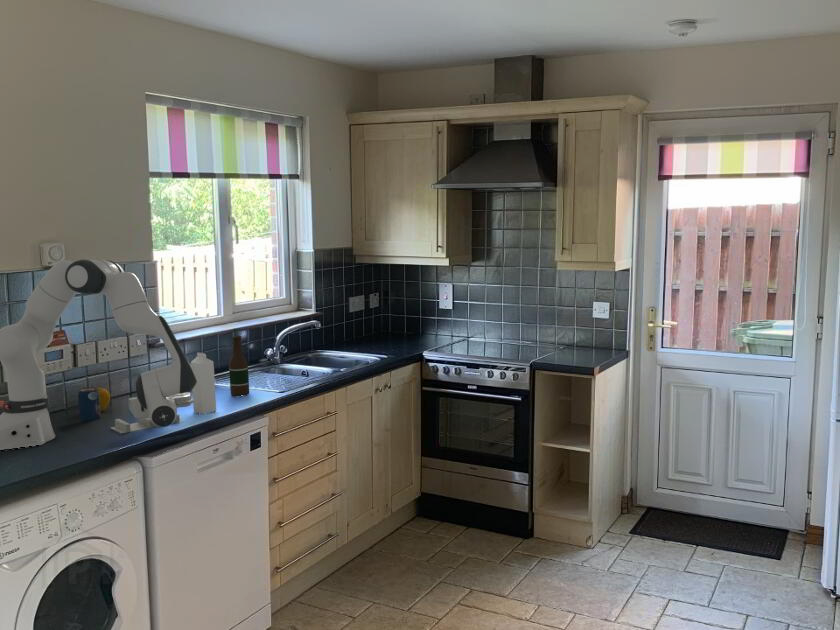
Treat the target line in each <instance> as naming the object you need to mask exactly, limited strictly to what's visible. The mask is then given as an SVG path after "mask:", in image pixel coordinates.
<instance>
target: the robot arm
mask: <svg viewBox="0 0 840 630" xmlns="http://www.w3.org/2000/svg"><path fill="white" fill-rule="evenodd" d="M77 294H82V295H99V294H102V295H104V296H106V298H107V300H108V301H109V305H110V309H111V311H112V315H113V317H114V320H115V322H116V324H117V326H118V327H119V328H120V329H121V330H122V331H123V332H126V333H130V334H133V335H142V336H143V335H144V336H154V337H157V338H159V339H160V340H161V341H162V343H163V344H164V346H165V348H166V349H167V351H168V353H169V355H170V358H171V359H172V363H171V364H169V365H166V366H162V367H158V368H155V369H154V368H153V369H151V370H148V371H145V372H144V371H143V372H141V373H139V375H138V376H137V377H136V380H135V392H136V397H129V398H128V408H129V411H130V414H133V416H134V418H135V419H139V418H150V420H151V422H152V423H153V424H154V425H156V426H158V428H166V427H167V428H168V427H169V426H171V425H173V424H172V423H173V422H174V421H175V419H176V417H177V414H178V408H187V407H189V406H191V405H192V404H193V402H194V400H193V397H192V392H191V391H192V389H193V388H194V386H195V385H196V383H197V377H196V373H195V371H194V369H193V367H192V366H191V362H189V361H188V359H187V357H186V356H185V353H184V352H183V349H182V348H181V345H180V343H179V342H178V339H177V337H176V336H175V334H174V332H173V330H172V328H171V327H170V325H169V323H168V321H167V320H166V319H165V317H164V316H162V315H161V314H157V313H156V312H154V310H153V309H152V308H151V306H150V304H149V301H148V298H147V296H146V295H147V294H146V292H145V290H144V288H143V285H142V284H141V282H140V279H139V278H138V277H137V275H136V274H134V273H132V272H131V271H130V272H128V271H124V269H123V268H122V267H121V265H119V264H118V263H116V262H114V261H112V260H105V259H98V258H96V259H95V258H94V259H79V260H76V261H71V260H66V259H64V260H63V259H61V260H59V261H57V262H56V263H55V264H53V266H52V267H51V268H49V270H48V271H47V272H46V273H45V274H44V276H42V278H41V279H40V281H39V282H38V283H37V285H36V287H35V288H34V290H33V291H32V293H30V295H29V297H28V298H27V300H26V302H25V311H24V314H23V316H22V317H21V319H19V321H18V322H16V323H12V324H9V325H5V326H3V327H1V328H0V363H1V365H2V368H3V370H4V373H5V376H6V383H7V392H8V400H6V401H4V400H0V408H2V411H3V412H2V413H1V414H0V450H4V449H12V448H18V449H21V448H20V447H25V448H30V447H29V446H32V447H36V445H39V446H42V445H44V444H45V443H47V442H49V441H52V440H53V439H56V437H57V436H56V433H55V432H54V429H53V426H52V422H51V419H50V399H49V395H48V394H47V388H46V387H47V386H46V384H47V383H46V375H45V372H44V371H43V368H40V366H39V364H38V361H37V358H36V353H39V352H42V351H44V350H45V349H46V348H47V347H48V346H49V345H51V343H52V342H53V338H54V331H55V328H56V326H57V325H58V322H59V320H60V318H61V317H62V315H63V314H64V312H65V311H66V309H67V308H68V307H69V305H70V303H71V302H72V301H73V300H74V297H76V295H77ZM12 450H13V449H12Z"/></svg>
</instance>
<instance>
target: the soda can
mask: <svg viewBox="0 0 840 630" xmlns="http://www.w3.org/2000/svg"><path fill="white" fill-rule="evenodd" d="M97 388H98V387H84V388H80V389H79V391H78V394H77V401H78V415H79V422H80V423H87V422H91V421H96V420H100V419H101V418H102V417H101V413H102V412H100V401H99V392H98V391H97Z"/></svg>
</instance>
